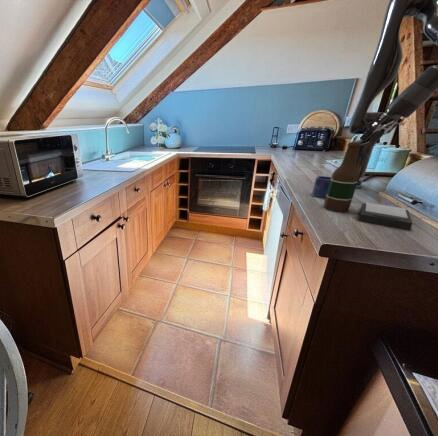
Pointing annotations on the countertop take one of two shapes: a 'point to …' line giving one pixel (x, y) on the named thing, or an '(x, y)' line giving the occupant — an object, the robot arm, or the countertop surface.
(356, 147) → the beer bottle
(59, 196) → the countertop surface
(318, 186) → the blue pot
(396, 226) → the kitchen scale
